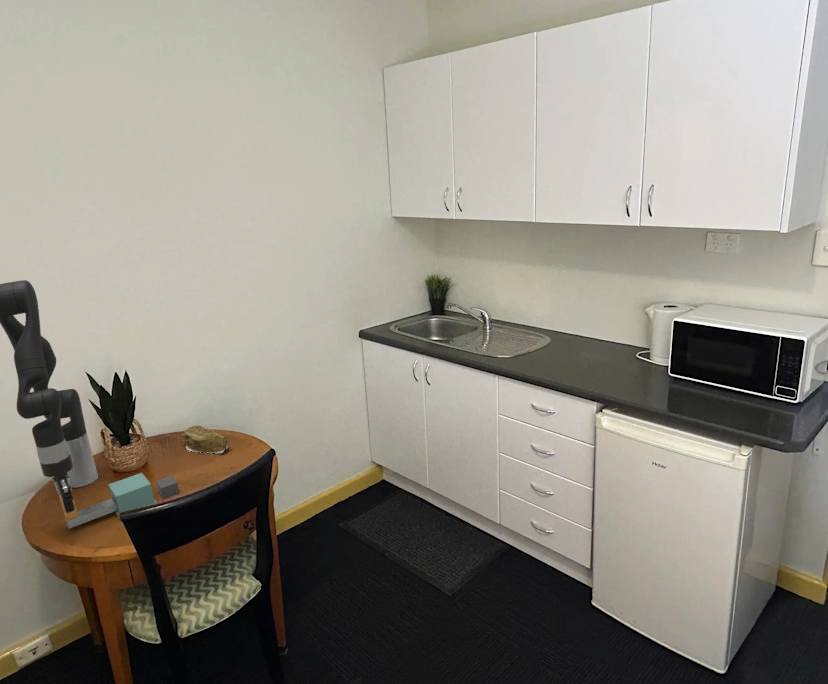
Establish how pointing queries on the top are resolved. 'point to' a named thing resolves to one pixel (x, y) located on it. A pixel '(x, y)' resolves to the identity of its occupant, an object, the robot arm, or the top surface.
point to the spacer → (167, 487)
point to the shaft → (89, 512)
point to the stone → (204, 440)
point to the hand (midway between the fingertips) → (69, 508)
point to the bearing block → (132, 493)
